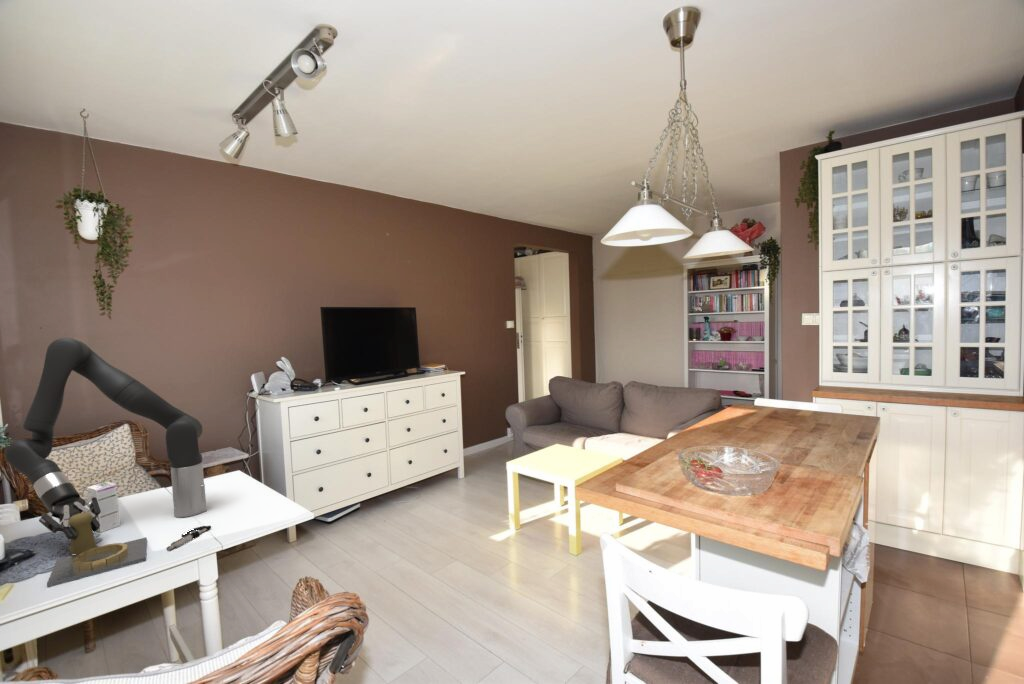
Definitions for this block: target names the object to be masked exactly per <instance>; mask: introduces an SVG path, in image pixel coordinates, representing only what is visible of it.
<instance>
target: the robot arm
mask: <svg viewBox="0 0 1024 684" xmlns="http://www.w3.org/2000/svg"><path fill="white" fill-rule="evenodd" d="M72 372H75V373H77V374H79V375H80V376H82V377H84V378H85V379H87V380H88V381H90V382H91V383H92V384H93V385H94V386H95V387H96V388H97V389H98V390H99V391H100V392H101V393H102V394H103V395H105V397H106V398H108V399H109V400H110V401H112V402H113V403H115V404H116V405H117V406H119V407H121V408H122V409H124V410H126V411H128V412H130V413H133V414H135V415H137V416H140V417H143V418H146V419H149V420H151V421H153V422H155V423H157V424H158V425H160V426H161V427H163V428H164V429H166V432H165V446H166V453H167V460H168V461H169V463H170V464H169V465H170V473H171V474H170V476H171V478H170V479H171V488H172V489H171V490H172V501H173V502H172V503H173V514H174V517H176V518H187V517H193V516H196V515H199V514H201V513H204V512H207V499H206V487H205V486H206V485H205V478H204V465H203V464H204V463H203V455H202V453H201V451H200V450H199V449H200V448H199V447H200V446H199V438H200V437H201V435H202V434H203V426H202V423H201V422H200V421H199V420H198V419H197V418H195V417H193V416H192V415H190V414H188V413H186V412H184V411H182V410H180V408H177V407H175V406H174V405H172V404H171V403H169V402H168V401H166V400H165V399H164V398H162V397H161V396H160V395H159V394H157V393H156V392H154V391H153V390H152V389H150V388H149V387H147V386H146V385H145V384H143V383H142V382H140V381H139V380H137V379H136V378H134V377H132V376H131V375H129V374H128V373H126V372H124V371H123V370H120V368H119V369H118V368H117V367H115V366H113V365H111V364H110V363H108V362H107V361H105V359H103V358H102V357H101V356H99V355H98V354H97V353H96V352H94V350H92V349H91V348H90V347H89V346H88V345H87V344H85V343H84V342H83V341H81V340H78V339H74V338H70V337H62V338H57V339H55V340H53V341H52V342H51V343H49V345H48V346H47V349H46V353H45V358H44V363H43V368H42V373H41V377H40V380H39V383H38V387H37V389H36V393H35V396H34V398H33V401H32V403H31V405H30V407H29V409H28V411H27V413H26V416H25V418H24V421H23V425H22V428H23V429H24V430H25V431H28V432H31V439H30V438H29V439H27V438H26V439H25V438H24V439H23V438H19V439H15V440H12V441H10V442H11V443H10V442H9V443H10V446H7V445H6V446H7V447H6V446H5V448H4V451H3V452H4V453H3V454H4V458H5V460H6V461H7V463H8V464H9V465H10V466H12V468H14V469H16V470H17V471H18V472H19V473H20V474H22V475H24V476H25V477H26V478H27V479H28V481H29V483H30V484H31V486H32V487H33V489H34V490H35V493H36V495H37V497H38V498H39V499H40V501H41V502H42V504H43V505H44V506H45V508H46V509H47V511H49V512H47V513H45V512H44V513H43V514H42V515H41V516H40V518H39V520H38V522H39V523H40V524H42V525H43V526H44V527H45V528H46V529H48V530H49V531H50V532H52V533H54V534H56V533H58V532H62V533H63V534H64V535H65V537H66V539H67V540H69V541H71V540H75V539H76V538H77V534H76V532H75V531H74V529H73V528H72V526H70V525H69V519H70V518H71V517H72V516H73V515H76V514H79V513H84V512H88V513H90V514H91V515H92V521H91V523H90V524H91V527H92V531H93V533H95V532H98V529H99V527H100V523H99V522H98V521H97V519H96V518H97V517H98V515H99V514H100V512H101V511H100V507H99V504H98V501H97V498H95V497H93V498H92V499H91V500H88V499H84V498H82V497H81V496H80V493H79V491H78V490H77V489H76V487H75V486H74V485H73V483H72V482H71V480H70V479H69V478H68V477H67V475H65V474H64V473H63V471H62V470H61V468H60V467H59V465H58V464H57V463H56V462H55V461H54V460H52V459H48V457H49V456H50V454H51V452H52V450H53V446H54V427H55V425H56V423H57V420H58V418H59V415H60V413H61V411H62V407H63V403H64V396H65V388H66V385H67V381H68V379H69V376H71V373H72ZM89 507H90V510H91V512H90V511H89ZM54 518H56V519H58V520H59V522H58V521H56V520H55V519H54Z"/></svg>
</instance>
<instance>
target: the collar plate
mask: <svg viewBox="0 0 1024 684" xmlns="http://www.w3.org/2000/svg"><path fill="white" fill-rule="evenodd" d="M147 540H148V539H147V537H142V538H138V539H134V540H130V541H126V542H118V543H117V542H116V543H108V544H104V545H100V546H97V547H95V548H92V549H90V550H87V551H85V552H82V553H80V554H76V555H68V556H65V557H61V558H57V559H56V561H55V564H54V566H53V569H52V571H51V573H50V575H49V577H48V580H47V583H46V588H51V587H54V586H58V585H61V584H65V583H69V582H72V581H76V580H80V579H83V578H87V577H90V576H95V575H98V574H102V573H106V572H109V571H114V570H116V569H117V570H118V569H121V568H123V567H124V568H125V567H129V566H133V565H135V564H139V562H140V563H143V562H146V560H147V545H146V544H147V542H148V541H147ZM142 561H143V562H142ZM113 569H114V570H113Z"/></svg>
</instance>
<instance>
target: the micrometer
mask: <svg viewBox="0 0 1024 684" xmlns="http://www.w3.org/2000/svg"><path fill="white" fill-rule="evenodd" d="M211 528H212V526H211V525H202V526H198V527H197V526H196V527H194V528H193V529H194V530H191V529H190V530H191V531H189V530H188V531H189V532H187V534H185V535H183V533H182V534H181V538H179V539H178V540H175V541H173V542H171V543H170V545H168V546H167V547H166V548H165V549H166V551H167V552H170V551H172V550H173V549H177V547H178V548H179V547H181V546H183V545H185V544H187V543H189V542H190V540H191V541H192V540H194V539H196V538H198V537H200V534H203V533H204V532H206V531H208V530H210V529H211ZM196 530H197V531H196ZM190 532H191V533H190ZM193 538H194V539H193ZM188 541H189V542H188ZM186 542H187V543H186ZM184 543H185V544H184Z"/></svg>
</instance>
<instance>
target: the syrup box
mask: <svg viewBox="0 0 1024 684" xmlns="http://www.w3.org/2000/svg"><path fill="white" fill-rule="evenodd" d="M86 490H87V498H88V499H87V500H91V499H92V498H93V497H95V498H97V501H98V504H99V507H100V511H101V512H100V514H99V515H98V517H97V518H96V519H97V521H98V522H99V523H100V527H99V529H98V531H97V532H98V533H103V532H106V530H107V531H109V529H110V530H111V528H112V529H115V528H117V527H120V526H121V522H120V512H119V511H120V510H119V501H118V494H117V493H118V492H117V485H116V483H113V482H109V481H105V482H101V483H97V484H93V485H91V486H87V488H86ZM88 509H89V511H90V512H91V510H90V507H89V508H88Z"/></svg>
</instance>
